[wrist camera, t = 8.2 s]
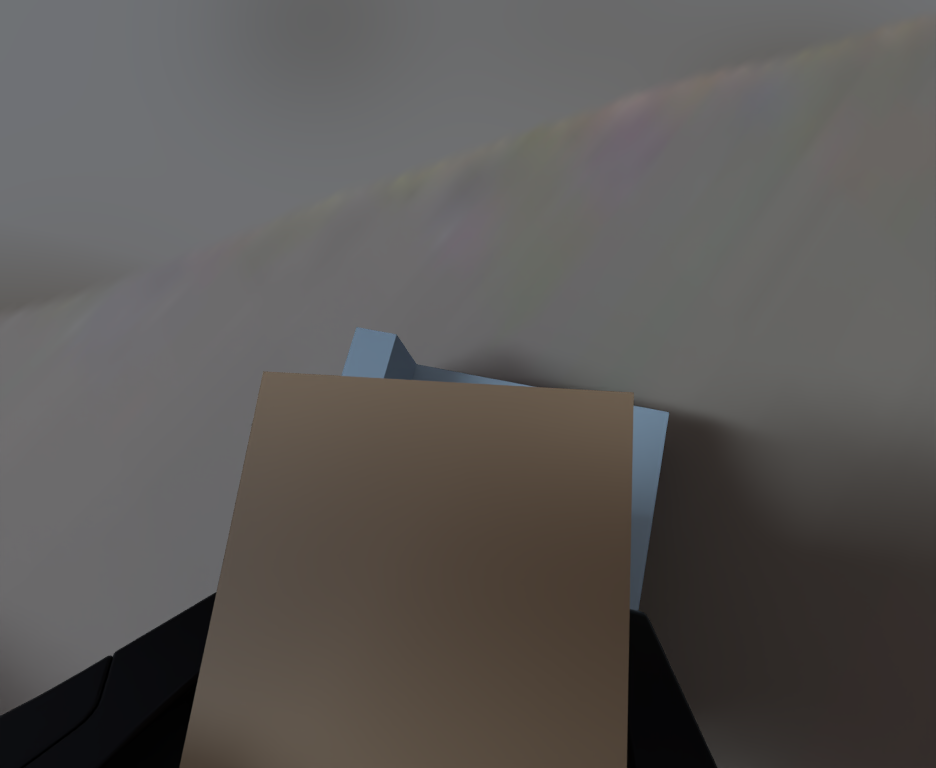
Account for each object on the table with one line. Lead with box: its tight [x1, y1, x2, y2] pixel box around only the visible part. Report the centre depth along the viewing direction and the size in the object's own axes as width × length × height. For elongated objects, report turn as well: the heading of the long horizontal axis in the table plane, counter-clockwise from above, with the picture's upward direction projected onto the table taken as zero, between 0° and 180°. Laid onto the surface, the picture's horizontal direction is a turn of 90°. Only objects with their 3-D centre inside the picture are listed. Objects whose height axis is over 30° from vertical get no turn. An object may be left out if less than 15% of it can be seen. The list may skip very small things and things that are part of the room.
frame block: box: [179, 371, 634, 768], centre depth 10 cm, size 7×4×10 cm, turn 174°
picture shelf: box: [342, 327, 669, 611], centre depth 16 cm, size 14×9×5 cm, turn 166°
